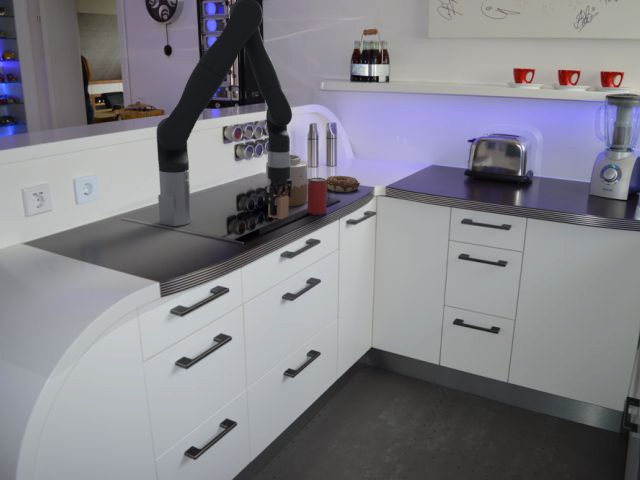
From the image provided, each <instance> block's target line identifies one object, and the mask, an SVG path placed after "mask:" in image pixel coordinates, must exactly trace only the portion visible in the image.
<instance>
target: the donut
mask: <svg viewBox="0 0 640 480" xmlns="http://www.w3.org/2000/svg"><path fill="white" fill-rule="evenodd" d="M325 179H326V183H327V190H329V191H332V192H337V193H338V192H339V193H346V192H347V193H349V192H354V191H355V190H357V189H358V187H359V186H360V184H361V183H360V182H359V180H358V179H357V178H355V177H354V176H353V177H352V176H347V175H334V176H332V175H330V176H328V177H327V178H325Z"/></svg>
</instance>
